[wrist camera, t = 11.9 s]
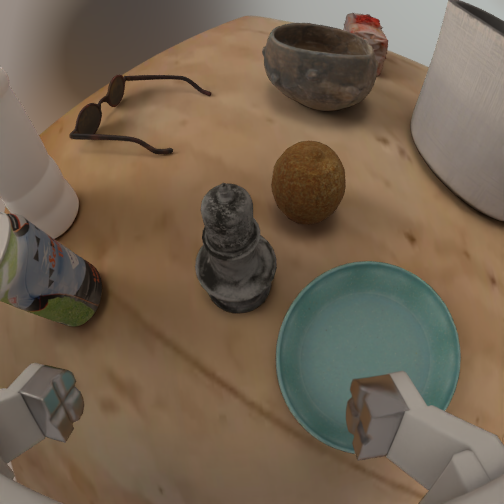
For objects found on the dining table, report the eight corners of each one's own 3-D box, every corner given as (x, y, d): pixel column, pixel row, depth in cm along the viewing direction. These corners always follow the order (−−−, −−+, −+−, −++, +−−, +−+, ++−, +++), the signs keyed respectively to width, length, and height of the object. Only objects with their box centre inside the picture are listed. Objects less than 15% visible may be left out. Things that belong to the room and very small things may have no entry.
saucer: (470, 371, 20) (487, 365, 18) (340, 486, 17) (349, 494, 15) (378, 246, 27) (388, 230, 24) (237, 333, 23) (235, 324, 21)
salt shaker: (285, 265, 26) (299, 161, 16) (257, 328, 23) (254, 252, 13) (222, 242, 27) (201, 135, 17) (191, 299, 25) (142, 211, 14)
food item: (385, 81, 42) (397, 32, 33) (339, 72, 43) (346, 20, 34) (374, 52, 48) (381, 11, 40) (335, 44, 49) (340, 2, 41)
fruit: (281, 180, 31) (285, 116, 24) (341, 197, 30) (359, 135, 23) (261, 228, 28) (260, 165, 21) (328, 248, 27) (348, 189, 20)
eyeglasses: (129, 91, 42) (121, 66, 38) (214, 92, 40) (210, 62, 35) (77, 152, 35) (63, 125, 31) (171, 159, 33) (161, 125, 28)
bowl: (351, 143, 33) (368, 72, 25) (239, 105, 38) (235, 39, 29) (377, 96, 39) (390, 40, 30) (285, 67, 43) (287, 13, 35)
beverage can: (121, 290, 25) (47, 209, 15) (73, 354, 22) (-25, 304, 12) (81, 256, 27) (14, 176, 17) (38, 313, 24) (-46, 252, 14)
